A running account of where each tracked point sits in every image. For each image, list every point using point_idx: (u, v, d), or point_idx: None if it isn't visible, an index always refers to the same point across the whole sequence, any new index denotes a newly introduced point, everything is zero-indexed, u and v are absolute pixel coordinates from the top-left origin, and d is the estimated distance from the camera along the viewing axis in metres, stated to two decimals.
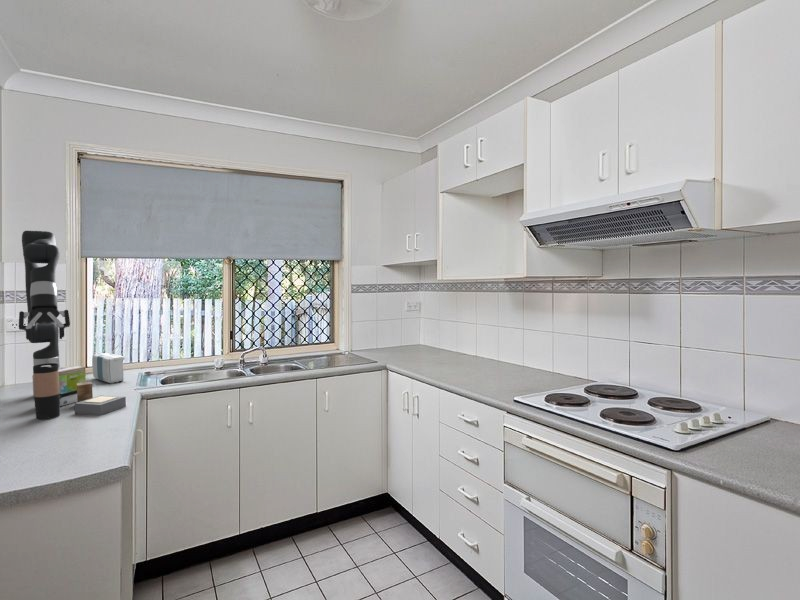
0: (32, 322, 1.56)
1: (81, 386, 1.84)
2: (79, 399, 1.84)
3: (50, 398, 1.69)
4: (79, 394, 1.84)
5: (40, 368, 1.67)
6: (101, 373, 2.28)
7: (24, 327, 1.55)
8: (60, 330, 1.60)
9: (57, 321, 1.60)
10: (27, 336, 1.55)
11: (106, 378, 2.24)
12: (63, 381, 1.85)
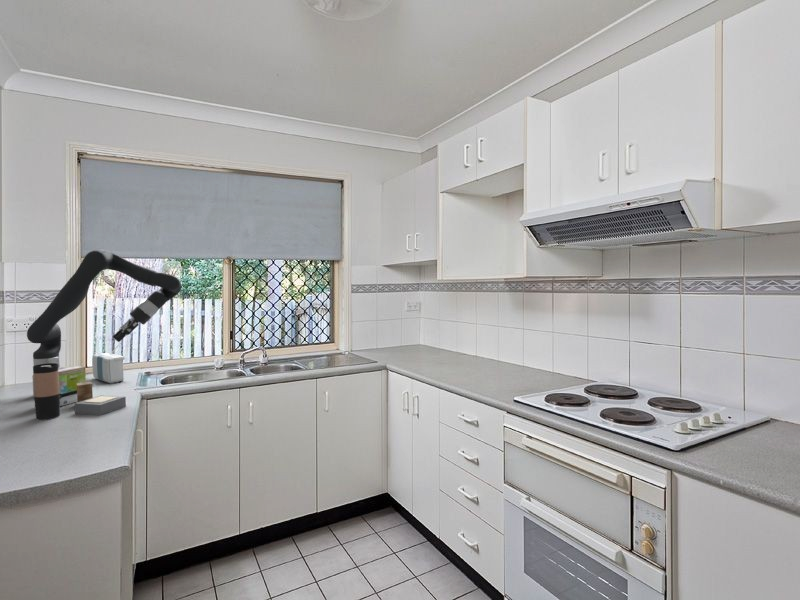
0: (130, 332, 1.94)
1: (81, 386, 1.84)
2: (79, 399, 1.84)
3: (50, 398, 1.68)
4: (79, 394, 1.84)
5: (40, 368, 1.66)
6: (101, 373, 2.28)
7: None
8: None
9: None
10: None
11: (106, 378, 2.24)
12: (63, 381, 1.85)
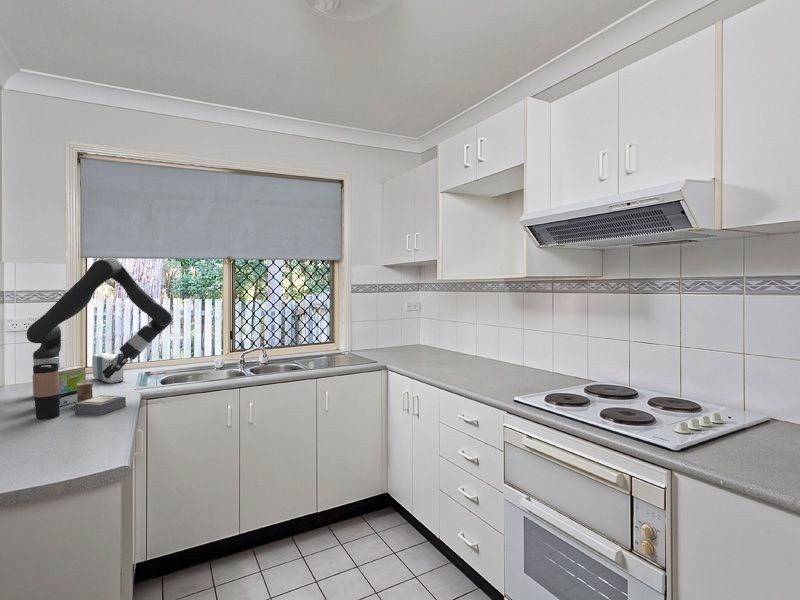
0: (120, 368, 1.92)
1: (81, 386, 1.84)
2: (79, 399, 1.84)
3: (50, 398, 1.68)
4: (79, 394, 1.84)
5: (40, 368, 1.66)
6: (101, 373, 2.28)
7: None
8: None
9: None
10: None
11: (106, 378, 2.24)
12: (63, 381, 1.85)
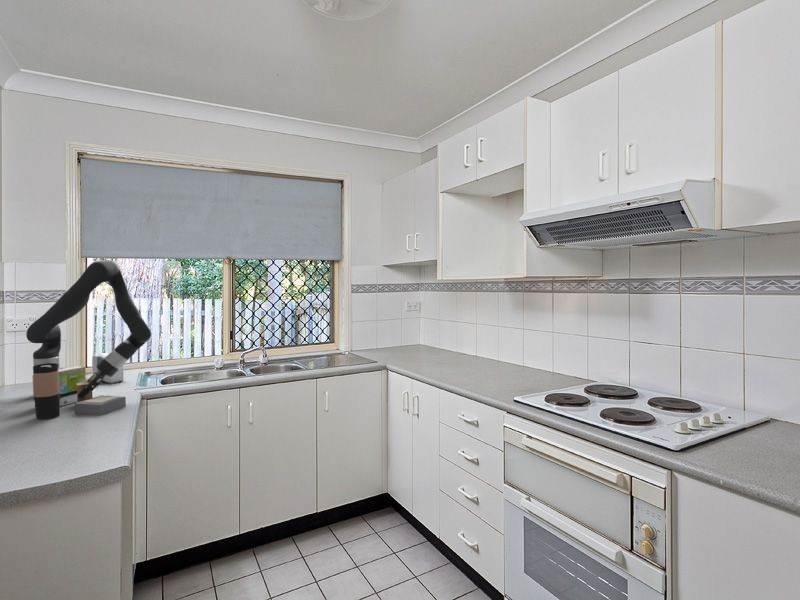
0: None
1: (81, 386, 1.84)
2: (78, 398, 1.84)
3: (50, 398, 1.68)
4: None
5: (40, 368, 1.66)
6: None
7: None
8: None
9: None
10: None
11: (106, 378, 2.24)
12: (63, 381, 1.85)
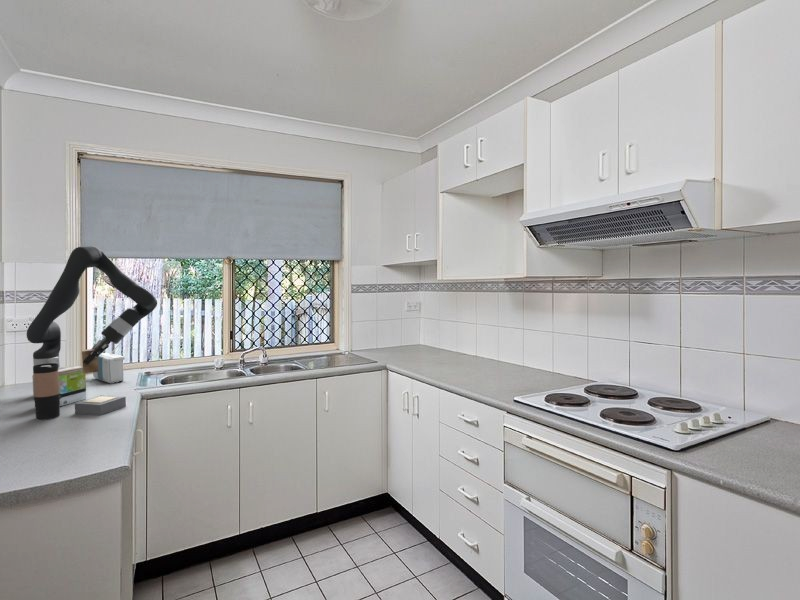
0: None
1: (86, 352, 1.81)
2: (84, 365, 1.81)
3: (50, 398, 1.68)
4: None
5: (40, 368, 1.66)
6: (101, 373, 2.28)
7: None
8: None
9: None
10: None
11: (106, 378, 2.24)
12: (63, 381, 1.85)
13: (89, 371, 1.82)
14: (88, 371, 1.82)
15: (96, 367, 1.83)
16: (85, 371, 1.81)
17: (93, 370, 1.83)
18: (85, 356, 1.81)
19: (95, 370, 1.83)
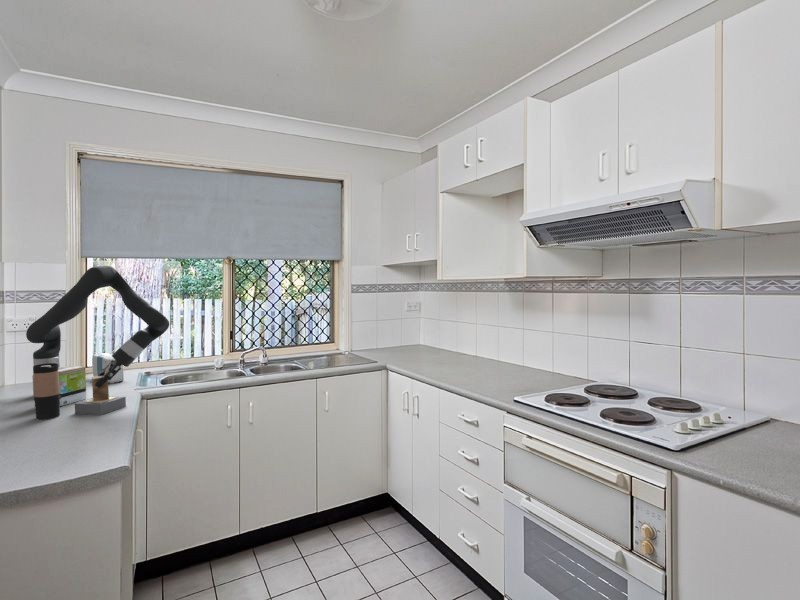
0: None
1: (97, 379, 1.77)
2: (94, 393, 1.76)
3: (50, 398, 1.68)
4: (94, 388, 1.76)
5: (40, 368, 1.66)
6: None
7: None
8: None
9: None
10: None
11: None
12: (63, 381, 1.85)
13: (99, 399, 1.77)
14: (98, 399, 1.77)
15: (106, 395, 1.79)
16: (95, 399, 1.77)
17: (103, 397, 1.78)
18: None
19: (105, 398, 1.79)
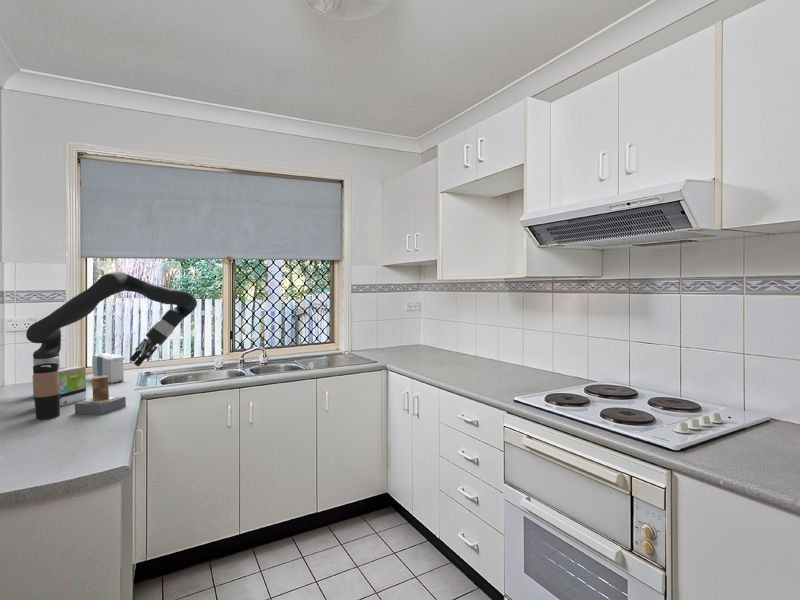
0: None
1: (97, 379, 1.77)
2: (94, 393, 1.76)
3: (50, 398, 1.68)
4: (94, 388, 1.76)
5: (40, 368, 1.66)
6: (101, 373, 2.28)
7: None
8: None
9: None
10: None
11: None
12: (63, 381, 1.85)
13: (99, 399, 1.77)
14: (98, 399, 1.77)
15: (106, 395, 1.79)
16: (95, 399, 1.77)
17: (103, 397, 1.78)
18: (95, 384, 1.76)
19: (105, 398, 1.79)
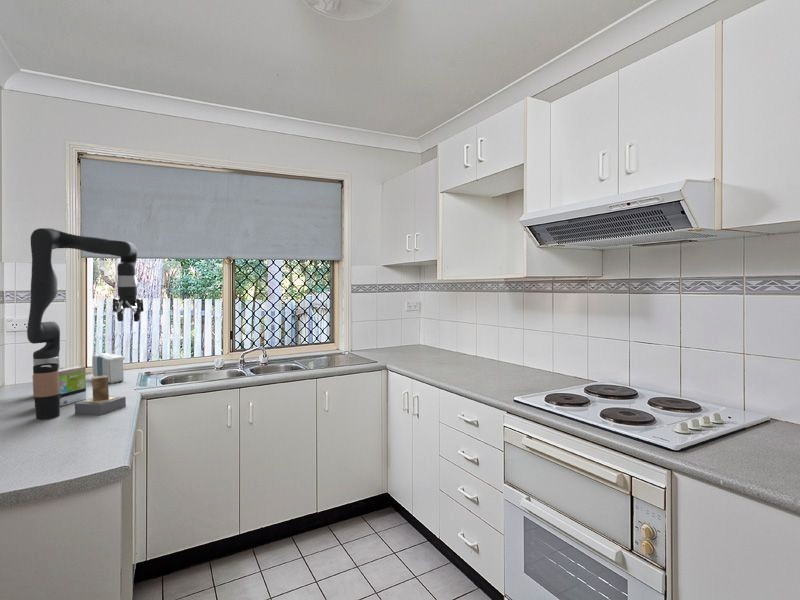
0: None
1: (97, 379, 1.77)
2: (94, 393, 1.76)
3: (50, 398, 1.68)
4: (94, 388, 1.76)
5: (40, 368, 1.66)
6: (101, 373, 2.28)
7: None
8: None
9: None
10: None
11: None
12: (63, 381, 1.85)
13: (99, 399, 1.77)
14: (98, 399, 1.77)
15: (106, 395, 1.79)
16: (95, 399, 1.77)
17: (103, 397, 1.78)
18: (95, 384, 1.76)
19: (105, 398, 1.79)
